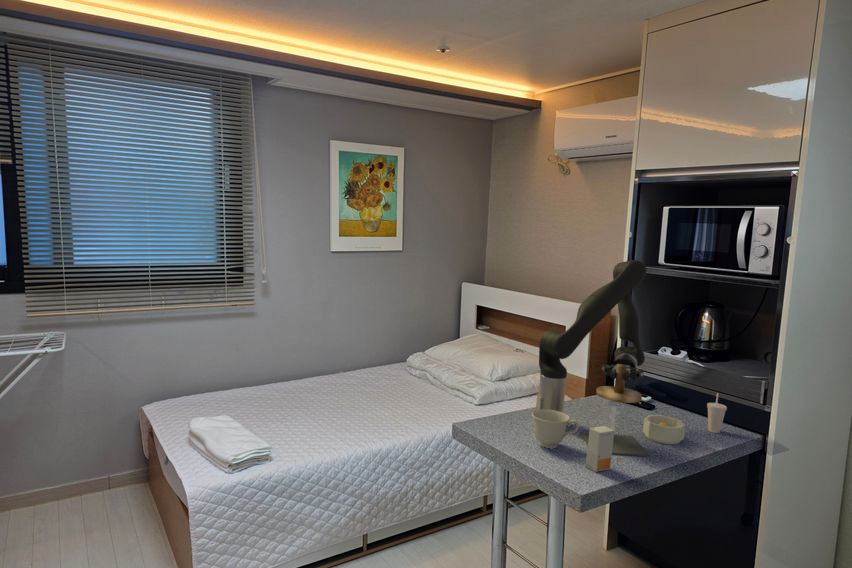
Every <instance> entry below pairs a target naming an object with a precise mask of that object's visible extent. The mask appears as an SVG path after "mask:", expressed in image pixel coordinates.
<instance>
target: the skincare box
mask: <svg viewBox="0 0 852 568" xmlns="http://www.w3.org/2000/svg"><path fill="white" fill-rule="evenodd" d="M588 430H589V432H588V433H589V440H588V445H587V449H586V450H587V451H586V458H585V459H586V460H585V467H586V468H587V467H588V468H587V469H589V470H591V471H592V470H593V472H594V471H595V472H594V473H598V471H599V472H602V471H603V470H604V471H609V469H610V470H611V466H612V465H611V464H612V457H613V455H612V448H613V439H614V435H615V430H614V429H611V428H610V427H608V426H606V425H603V426H596V427H590V428H589V429H588Z"/></svg>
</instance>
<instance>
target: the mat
mask: <svg viewBox="0 0 852 568" xmlns="http://www.w3.org/2000/svg"><path fill="white" fill-rule="evenodd" d="M579 435H580V437H581V438H582V440H583V439H584V440H583V441H584V442H585V443H586V446H588V440H589V432H579ZM612 454H614V456H616V455H617V456H630V455H633V456H634V457H647V456H651V457H652V454H651V453H650V452H649V451H648V450H647V449H646V448H645V447H644V446H643V445H642V444H641V443H640V442H639V441H638V440H637V439H636V438H635V437H634V436H633V435H627V434H625V435H624V434H614V439H613V448H612ZM633 456H632V457H633Z"/></svg>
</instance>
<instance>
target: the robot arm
mask: <svg viewBox="0 0 852 568" xmlns="http://www.w3.org/2000/svg"><path fill="white" fill-rule="evenodd" d="M612 277H613V278H612V279H613V280H611V281H610V282H607V284H605V285H603V286H601V287H599V288H598V289H596V290H595V291H593V292H592V293H591V294H589V296H587V298H585V299H584V300H583V301H582V303H581V304H580V305H579V307H578V310H577V313H576V319H575V320H574V323H573V324H572V325H570V327H569V328H568V329H566V331H563V332H561V331H558V330H554V329H547V330H546V331H545V332H544V333H543V334H542V335H541V338H540V339H539V345H538V346H539V349H538V365H539V369H540V370H539V371H540V373H539V387H538V392H537V393H536V405H535V410H540V409H548V410H555V411H559V412H562V413H564V408H565V400H566V399H565V398H566V389H567V387H566V385H567V375H568V371H567V368H566V367H565V366H564V365H563V363H562V362H561V360H565V359H568V358H569V357H570V356H571V355H572V354H573V353H574V352H575V351H576V349H577V348H578V347H579V346H580V344H581V343H582V342H583V341H584V339H585V338H586V337H587V335H589V333H590V332H591V331H592V330H593V329H594V328H595V327H596V326H597V325H598V324H599V323H600V322H601V321H602V320H603V319H604V318H605V317H606V316H607V315H608V314H609V313H610V312H611V311H612V310H613V309H614V308H615V306H617V310H618V328H619V329H618V331H619V335H618V336H619V339H620V340H622V341H625V342H630V343H631V344H633V346H619V347H617V348H616V349H615V351H614V360H613V363H612V364H610V365H609V364H606V363H602V368H601V371H602V373H603V374H605V375H606V376H609V377H610V378H612V380H615V378H616V367H617V364H623V365H626V373H625V377H624V381H625V382H627V381H630V380H631V379H632V380H635V381H636V380H638V379H643V378H644V374H645V373H644V372H645V370H644V369H642V368H641V369H637V367H641V366H642V365H643V364H644V363H645V359H646V358H645V357H646V356H645V353H644V350H643V347H642V344H641V340H640V321H639V320H640V319H639V315H638V312H637V310H636V307H635V305H634V303H633V300H632V293H631V291H632V290H633V289H635V288H636V287H637V286H639V285H640V284H641V283H642V282H643V281H644V279H645V278H646V277H647V268H646V265H645V263H644V262H642V261H641V260H638V259H631V260H627V261H622V262H619V263H617V264H615V266H614V267H613V271H612Z"/></svg>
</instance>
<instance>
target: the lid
mask: <svg viewBox="0 0 852 568" xmlns="http://www.w3.org/2000/svg"><path fill="white" fill-rule="evenodd" d="M625 373H626V365H623V364H617V367H616V378H615V379H614V385H602V386H597V388H596V392H595V393H596V395H597V396H598V397H600V398H602V399H604V400H607V401H612V402H616V403H624V404H634V403H640V402H642V399H643V394H642V393H641V392H639V391H637V390H634V389H631V388H627V387H625V386H626V385H625V384H626V381H624V377H625Z"/></svg>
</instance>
